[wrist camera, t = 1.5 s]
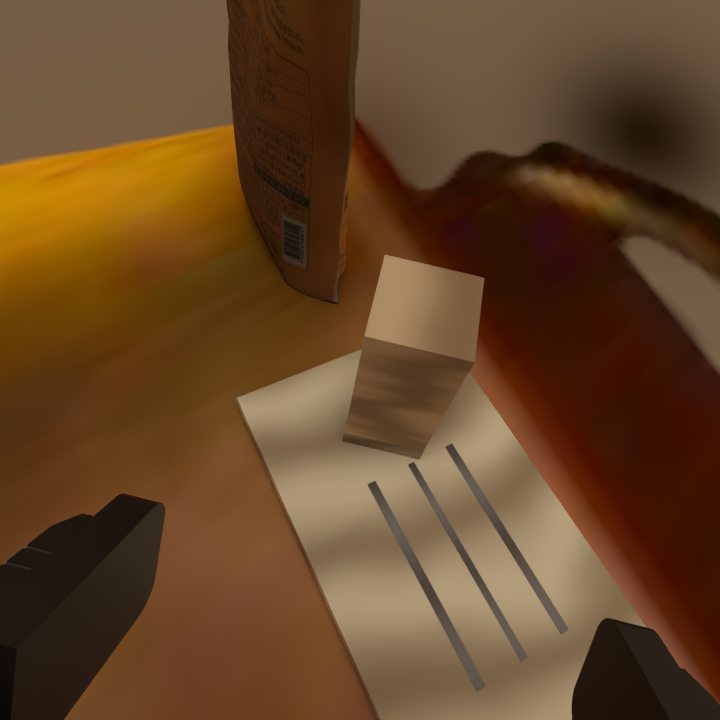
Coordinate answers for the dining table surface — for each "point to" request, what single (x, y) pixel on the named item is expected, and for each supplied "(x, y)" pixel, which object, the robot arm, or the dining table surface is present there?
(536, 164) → the dining table surface
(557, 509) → the birch board
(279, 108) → the pancake mix bag
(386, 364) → the tan tall block
